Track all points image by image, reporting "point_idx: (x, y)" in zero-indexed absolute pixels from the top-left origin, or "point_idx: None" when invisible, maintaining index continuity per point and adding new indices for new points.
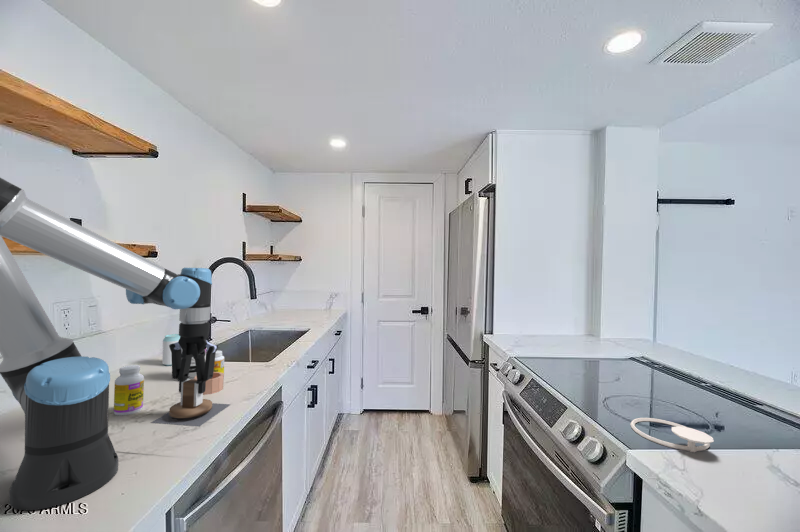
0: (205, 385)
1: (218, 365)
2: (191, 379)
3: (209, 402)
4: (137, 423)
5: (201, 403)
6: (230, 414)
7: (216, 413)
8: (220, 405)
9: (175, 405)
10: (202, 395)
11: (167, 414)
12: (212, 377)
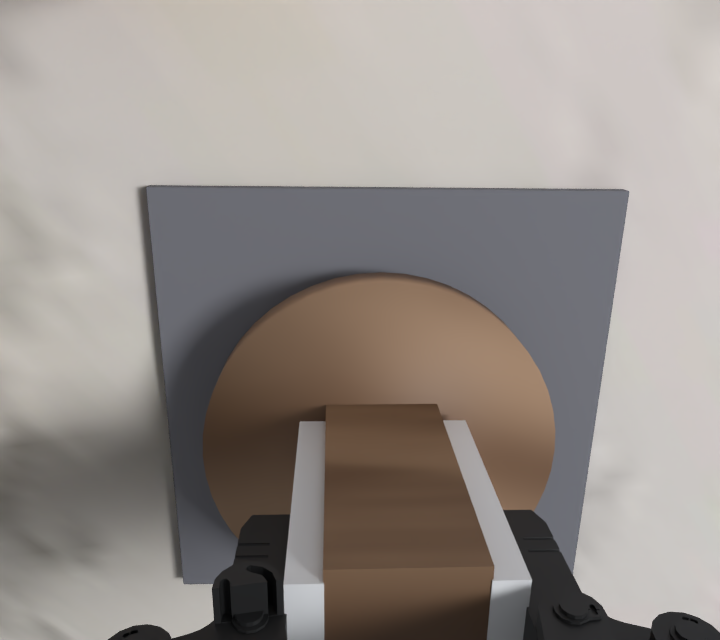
0: (565, 562)
1: None
2: (340, 586)
3: (497, 353)
4: (84, 577)
5: (437, 391)
6: (697, 357)
7: (588, 388)
8: (537, 229)
9: (230, 472)
10: (481, 463)
11: (193, 460)
12: (708, 626)
